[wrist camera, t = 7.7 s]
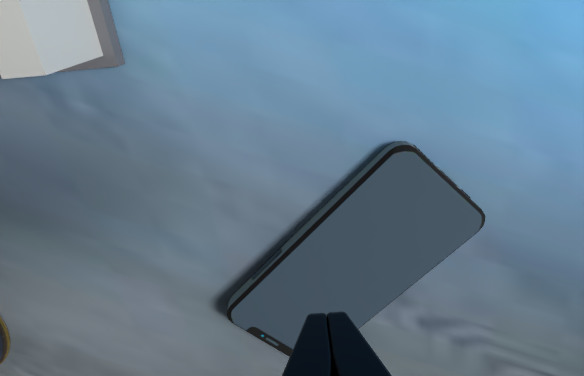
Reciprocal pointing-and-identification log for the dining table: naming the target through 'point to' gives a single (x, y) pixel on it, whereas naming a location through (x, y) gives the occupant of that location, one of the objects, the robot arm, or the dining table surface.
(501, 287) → the dining table surface
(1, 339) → the apothecary jar
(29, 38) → the grey piece
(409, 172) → the smartphone
